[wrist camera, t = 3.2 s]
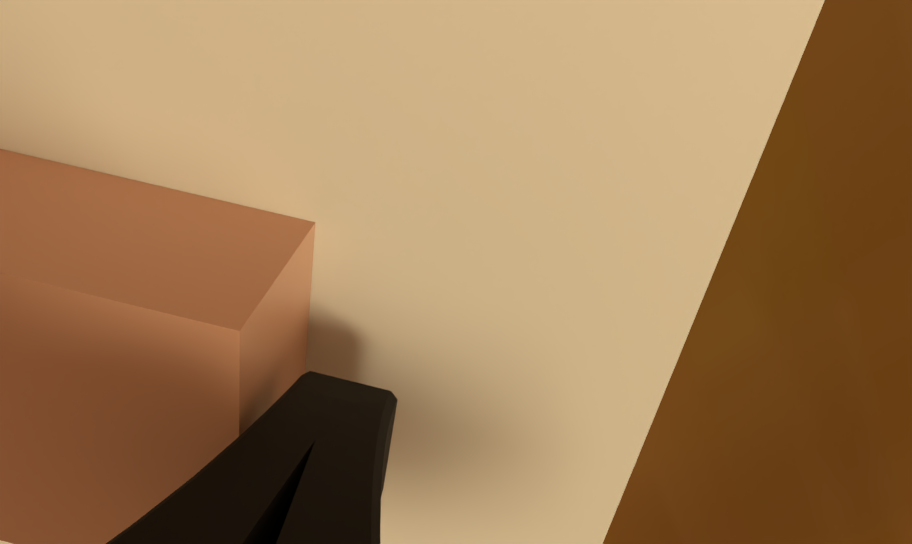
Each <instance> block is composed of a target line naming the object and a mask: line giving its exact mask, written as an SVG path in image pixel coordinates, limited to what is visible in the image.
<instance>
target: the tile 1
mask: <svg viewBox="0 0 912 544" xmlns="http://www.w3.org/2000/svg"><path fill="white" fill-rule="evenodd" d="M315 223H316V222H312V221H307V220H303V219H299V218H294V217H290V216H286V215H282V214H277V213H273V212H269V211H264V210H260V209H256V208H252V207H247V206H243V205H239V204H234V203H230V202H226V201H222V200H217V199H213V198H209V197H204V196H200V195H196V194H192V193H187V192H183V191H179V190H174V189H170V188H166V187H162V186H157V185H153V184H149V183H144V182H140V181H136V180H132V179H127V178H123V177H119V176H114V175H110V174H106V173H102V172H97V171H93V170H89V169H84V168H80V167H76V166H72V165H67V164H63V163H59V162H54V161H50V160H46V159H42V158H37V157H33V156H29V155H24V154H20V153H16V152H12V151H7V150H3V149H0V540H1V541H5V542H9V543H13V544H106V543H107V542H109V541H110V540H111V539H113V538H114V537H115V536H117V535H118V534H120V533H121V532H122V531H124V530H125V529H126V528H128V527H129V526H131V525H132V524H133V523H135V522H136V521H137V520H138V519H140V518H141V517H142V516H144V515H145V514H146V513H147V512H149V511H150V510H151V509H152V508H154V507H155V506H156V505H158V504H159V503H160V502H161V501H163V500H164V499H165V498H166V497H168V496H169V495H170V494H172V493H173V492H174V491H175V490H177V489H178V488H179V487H180V486H182V485H183V484H184V483H186V482H187V481H188V480H189V479H190V478H192V477H193V476H194V475H195V474H196V473H198V472H199V471H200V470H201V469H202V468H203V467H205V466H206V465H207V464H208V463H209V462H210V461H211V460H213V459H214V458H215V457H216V456H217V455H218V454H219V453H221V452H222V451H223V450H224V449H225V448H226V447H228V446H229V445H230V444H231V443H232V442H233V441H234V440H236V439H237V438H238V437H239V436H240V435H241V434H242V433H243V432H244V431H245V430H246V429H248V428H249V427H250V426H251V425H252V424H253V423H254V422H255V421H256V420H257V419H258V418H259V417H260V416H261V415H263V414H264V413H265V412H266V411H267V410H268V409H269V408H270V407H271V406H272V405H273V404H274V403H275V402H276V401H277V400H278V399H279V398H280V397H281V396H282V395H283V394H284V393H285V392H286V391H287V390H288V389H289V388H290V387H291V386H292V385H293V384H294V383H295V382H296V380H297V379H298V378H299V377H300V376H301V375H303V374H305V369H306V354H307V340H308V325H309V311H310V296H311V281H312V267H313V252H314V238H315Z"/></svg>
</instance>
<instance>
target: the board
mask: <svg viewBox="0 0 912 544" xmlns="http://www.w3.org/2000/svg"><path fill="white" fill-rule="evenodd" d="M824 1H825V0H0V149H3V150H7V151H12V152H16V153H20V154H24V155H29V156H33V157H37V158H42V159H46V160H50V161H54V162H59V163H63V164H67V165H72V166H76V167H80V168H84V169H89V170H93V171H97V172H102V173H106V174H110V175H114V176H119V177H123V178H127V179H132V180H136V181H140V182H144V183H149V184H153V185H157V186H162V187H166V188H170V189H174V190H179V191H183V192H187V193H192V194H196V195H200V196H204V197H209V198H213V199H217V200H222V201H226V202H230V203H234V204H239V205H243V206H247V207H252V208H256V209H260V210H264V211H269V212H273V213H277V214H282V215H286V216H290V217H294V218H299V219H303V220H307V221H312V222H316V223H315V238H314V252H313V267H312V281H311V296H310V311H309V325H308V340H307V354H306V369H305V373H307V372H309V371H313V372H317V373H321V374H325V375H329V376H333V377H337V378H341V379H345V380H349V381H353V382H357V383H361V384H365V385H369V386H373V387H377V388H381V389H385V390H389V391H391V392H392V393H393V394H394V395H395V397H396V398H397V399H398V401H397V407H396V413H395V419H394V425H393V432H392V438H391V444H390V450H389V456H388V463H387V469H386V475H385V481H384V487H383V492H382V495H381V519H380V544H602V543H603V541H604V538H605V536H606V534H607V531H608V529H609V526H610V524H611V521H612V519H613V516H614V514H615V512H616V509H617V507H618V504H619V502H620V499H621V497H622V494H623V492H624V490H625V487H626V485H627V482H628V480H629V477H630V475H631V472H632V470H633V468H634V465H635V463H636V460H637V458H638V455H639V453H640V450H641V448H642V446H643V443H644V441H645V438H646V436H647V433H648V431H649V428H650V426H651V424H652V421H653V419H654V416H655V414H656V411H657V409H658V406H659V404H660V402H661V399H662V397H663V394H664V392H665V389H666V387H667V384H668V382H669V380H670V377H671V375H672V372H673V370H674V367H675V365H676V362H677V360H678V358H679V355H680V353H681V350H682V348H683V345H684V343H685V340H686V338H687V336H688V333H689V331H690V328H691V326H692V323H693V321H694V318H695V316H696V314H697V311H698V309H699V306H700V304H701V301H702V299H703V296H704V294H705V292H706V289H707V287H708V284H709V282H710V279H711V277H712V274H713V272H714V270H715V267H716V265H717V262H718V260H719V257H720V255H721V252H722V250H723V248H724V245H725V243H726V240H727V238H728V235H729V233H730V230H731V228H732V226H733V223H734V221H735V218H736V216H737V213H738V211H739V208H740V206H741V204H742V201H743V199H744V196H745V194H746V191H747V189H748V186H749V184H750V182H751V179H752V177H753V174H754V172H755V169H756V167H757V164H758V162H759V160H760V157H761V155H762V152H763V150H764V147H765V145H766V142H767V140H768V138H769V135H770V133H771V130H772V128H773V125H774V123H775V120H776V118H777V116H778V113H779V111H780V108H781V106H782V103H783V101H784V98H785V96H786V94H787V91H788V89H789V86H790V84H791V81H792V79H793V76H794V74H795V72H796V69H797V67H798V64H799V62H800V59H801V57H802V54H803V52H804V50H805V47H806V45H807V42H808V40H809V37H810V35H811V32H812V30H813V28H814V25H815V23H816V20H817V18H818V15H819V13H820V10H821V8H822V6H823V3H824ZM0 544H13V543H9V542H5V541H1V540H0Z"/></svg>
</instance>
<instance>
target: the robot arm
mask: <svg viewBox="0 0 912 544" xmlns="http://www.w3.org/2000/svg"><path fill="white" fill-rule="evenodd" d="M397 401H398V399H397V398H396V397H395V395H394V394H393V393H392V392H391V391H389V390H385V389H381V388H377V387H373V386H369V385H365V384H361V383H357V382H353V381H349V380H345V379H341V378H337V377H333V376H329V375H325V374H321V373H317V372H313V371H309V372H307V373H305V374H303V375H301V376H300V377H299V378H298V379H297V380H296V382H295V383H294V384H293V385H292V386H291V387H290V388H289V389H288V390H287V391H286V392H285V393H284V394H283V395H282V396H281V397H280V398H279V399H278V400H277V401H276V402H275V403H274V404H273V405H272V406H271V407H270V408H269V409H268V410H267V411H266V412H265V413H264V414H263V415H261V416H260V417H259V418H258V419H257V420H256V421H255V422H254V423H253V424H252V425H251V426H250V427H249V428H248V429H246V430H245V431H244V432H243V433H242V434H241V435H240V436H239V437H238V438H237V439H236V440H234V441H233V442H232V443H231V444H230V445H229V446H228V447H226V448H225V449H224V450H223V451H222V452H221V453H219V454H218V455H217V456H216V457H215V458H214V459H213V460H211V461H210V462H209V463H208V464H207V465H206V466H205V467H203V468H202V469H201V470H200V471H199V472H198V473H196V474H195V475H194V476H193V477H192V478H190V479H189V480H188V481H187V482H186V483H184V484H183V485H182V486H180V487H179V488H178V489H177V490H175V491H174V492H173V493H172V494H170V495H169V496H168V497H166V498H165V499H164V500H163V501H161V502H160V503H159V504H158V505H156V506H155V507H154V508H152V509H151V510H150V511H149V512H147V513H146V514H145V515H144V516H142V517H141V518H140V519H138V520H137V521H136V522H135V523H133V524H132V525H131V526H129V527H128V528H126V529H125V530H124V531H122V532H121V533H120V534H118V535H117V536H115V537H114V538H113V539H111V540H110V541H109V542H107V543H106V544H380V519H381V495H382V492H383V487H384V481H385V475H386V469H387V463H388V456H389V450H390V444H391V438H392V432H393V425H394V419H395V413H396V407H397Z"/></svg>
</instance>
